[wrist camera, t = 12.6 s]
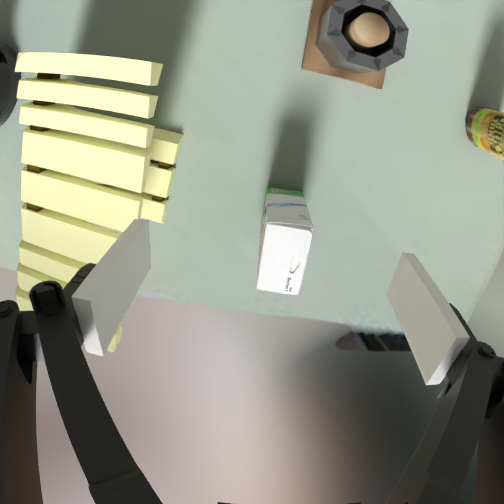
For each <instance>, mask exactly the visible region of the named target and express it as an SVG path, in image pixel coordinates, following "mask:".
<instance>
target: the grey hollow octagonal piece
mask: <svg viewBox="0 0 504 504" xmlns="http://www.w3.org/2000/svg"><path fill="white" fill-rule="evenodd" d="M364 13H375V14H377V15H379V16H381V17H382V18H383V19H384V20H385V21H386V22H387V24H388V26H389V37H388V39H387V40H386V41H385V42H384V43H382V44H379V45H377V46H374V47H371V51H370V55H366V54H362V53H359V52H355V51H354V50H353V49H352V47H351V46H350V44H349V43H348V42H347V40H346V39H345V37H344V36H343V35H342V33H341V29H342V23H343V20H344V19H346V20H349V21H353V20H355V19H356V18H357V17H359V16H360V15H362V14H364ZM408 30H409V29H408V28H407V26H406V25H405V23H404V22H403V20H402V19H401V17H400V16H399V14H398V13H397V11H396V10H395V8H394V7H393V6H392V4H391V3H390V2H388V1H385V0H340V1H338V2H336V3H334V4H332V5H331V6H330V8H329V9H328V10H327V11H326V13H325V14H324V15H323V17H322V18H321V19H320V21H319V26H318V32H317V37H316V43H315V45H316V47H317V48H318V49H319V51H320V52H321V53H322V55H323V56H324V57H325V59H326V60H327V62H328V63H329V64H330V66H331V67H333V68H337V69H341V70H345V71H349V72H353V73H356V74H361V73H369V72H377V71H380V70H382V69H384V68H386V67H388V66H389V65H391V64H393V63H395V62H397V61H399V60H400V59H402V58H404V55H405V49H406V43H407V36H408Z"/></svg>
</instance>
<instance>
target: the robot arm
mask: <svg viewBox="0 0 504 504" xmlns="http://www.w3.org/2000/svg"><path fill="white" fill-rule="evenodd" d="M16 62H17V57H16V55H15V53H14V52H13V50H12V49H11V48H9V47H8V46H6V45H2V44H0V126H1V125H2V124H3V123H4V122H5V121H6V120H7V119H8V118H9V116H10V114H11V113H12V111H13V109H14V106H15V104H16V101H17V90H18V84H19V80H20V72H15V67H16ZM150 268H151V266H150V243H149V220H141V219H134V220H133V222H132V223H131V224H130V225H129V226H128V227H127V228H126V230H125V231H124V232H123V233H122V234H121V235H120V237H119V238H118V239H117V240H116V241H115V243H114V244H113V245H112V246H111V247H110V249H109V250H108V251H107V252H106V253H105V255H104V256H103V257H102V258H101V260H100V261H99V262H98V263H97V264H94V263H88V264H86V265H85V266H83V267H81V268H80V269H79V270H78V271H77V273H76V274H75V276H73V278H72V279H71V280H70V282H68V284H67V285H66V286H65V287H64V289H63V290H62V286H61V285H60V283H58V282H56V281H51V280H48V281H43V282H40V283H38V284H36V285H35V286H33V287H32V289H31V290H30V292H29V297H30V301H31V304H32V307H33V310H34V311H20V309H19V306H18V304H17V303H16V302H14V301H12V300H6V301H2V302H0V504H43V499H42V492H41V485H40V476H39V466H38V454H37V438H36V378H37V362H45V363H46V367H47V371H48V375H49V378H50V381H51V385H52V388H53V392H54V395H55V398H56V401H57V405H58V408H59V411H60V414H61V417H62V419H63V422H64V425H65V428H66V430H67V433H68V436H69V438H70V441H71V444H72V446H73V448H74V451H75V453H76V455H77V458H78V460H79V463H80V465H81V467H82V469H83V472H84V474H85V476H86V478H87V480H88V483H89V490H90V493H91V495H92V497H93V500H94V502H95V503H96V504H162V502H161V501H160V499H159V498H158V496H157V495H156V493H155V492H154V490H153V489H152V487H151V485H150V484H149V482H148V481H147V479H146V477H145V476H144V474H143V473H142V471H141V470H140V468H139V467H138V466H137V464H136V463H135V461H134V459H133V457H132V456H131V454H130V452H129V450H128V449H127V447H126V445H125V443H124V441H123V439H122V437H121V436H120V434H119V432H118V430H117V428H116V426H115V424H114V422H113V420H112V418H111V416H110V414H109V412H108V410H107V408H106V406H105V403H104V401H103V399H102V397H101V395H100V393H99V390H98V388H97V386H96V383H95V381H94V379H93V376H92V374H91V372H90V369H89V367H88V365H87V362H86V359H85V357H84V355H83V352H82V349H81V346H82V344H83V342H84V345H85V348H86V351H87V352H88V353H93V354H96V355H101V356H104V354H105V352H106V350H107V348H108V346H109V344H110V342H111V340H112V338H113V337H114V335H115V333H116V331H117V329H118V327H119V325H120V323H121V321H122V319H123V317H124V315H125V313H126V311H127V310H128V308H129V306H130V304H131V302H132V300H133V298H134V296H135V295H136V293H137V291H138V289H139V287H140V285H141V284H142V282H143V280H144V278H145V276H146V275H147V273H148V271H149V269H150ZM387 297H388V299H389V301H390V303H391V305H392V307H393V310H394V312H395V314H396V316H397V318H398V320H399V323H400V325H401V327H402V329H403V331H404V334H405V336H406V338H407V341H408V343H409V345H410V347H411V350H412V352H413V355H414V357H415V359H416V362H417V364H418V367H419V369H420V371H421V374H422V376H423V379H424V381H425V384H426V385H432V384H440V382H441V381H442V380H443V378H444V377H445V375H447V377H448V379H449V382H448V383H447V385H446V386H445V387H444V389H443V390H442V391H441V393H440V394H439V395H438V397H437V398H439V397H440V396H441V398H440V400H439V402H438V405H437V407H436V410H435V412H434V414H433V416H432V418H431V420H430V423H429V425H428V427H427V429H426V431H425V433H424V435H423V437H422V439H421V441H420V443H419V445H418V447H417V449H416V451H415V453H414V455H413V456H412V458H411V460H410V462H409V464H408V466H407V467H406V469H405V471H404V473H403V474H402V476H401V478H400V479H399V481H398V483H397V484H396V486H395V488H394V490H393V491H392V493H391V494H390V496H389V497H388V499H387V500H386V502H385V503H384V504H464V501H465V498H466V492H465V491H463V490H462V489H461V488H462V485H463V482H464V480H465V477H466V474H467V472H468V469H469V466H470V463H471V460H472V457H473V454H474V451H475V448H476V445H477V442H478V453H477V466H476V475H475V484H474V491H473V498H472V504H504V358H501V357H498V356H496V353H495V351H494V350H493V349H492V348H491V347H490V346H489V345H487V344H486V343H483V342H478V341H477V340H476V338H475V336H474V335H473V333H472V332H471V330H470V328H469V327H468V325H467V324H466V322H465V320H464V319H462V316H461V314H460V313H459V311H458V310H457V309H456V308H455V307H454V306H453V305H452V304H451V303H448V302H447V300H446V299H445V297H444V296H443V294H442V293H441V291H440V290H439V288H438V287H437V285H436V284H435V282H434V281H433V280H432V278H431V277H430V275H429V274H428V272H427V271H426V270H425V268H424V267H423V265H422V264H421V263H420V261H419V260H418V259H417V257H416V256H415V255H414V254H411V253H404V252H402V254H401V257H400V260H399V263H398V266H397V268H396V271H395V274H394V276H393V279H392V282H391V284H390V287H389V290H388V292H387ZM218 504H229V503H220V502H218ZM349 504H361V503H349Z"/></svg>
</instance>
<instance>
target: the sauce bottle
mask: <svg viewBox="0 0 504 504" xmlns="http://www.w3.org/2000/svg"><path fill="white" fill-rule="evenodd" d="M466 129H467V135H468V138H469V139H470V141H471V142H472V143H473V144H474V145H475V146H477V147H479V148H480V149H482V150H484V151H486V152H488V153H490V154H492V155H494V156H496V157H498V158H500V159H502V160H504V113H502V112H499V111H495V110H492V109H487V108H476V109H475V110H473V111H472V112H471V113H470V115H469V117H468V119H467V122H466Z"/></svg>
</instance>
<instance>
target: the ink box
mask: <svg viewBox="0 0 504 504" xmlns="http://www.w3.org/2000/svg"><path fill="white" fill-rule="evenodd" d="M312 232H313V225H312V222H311V218H310V215H309V212H308V209H307V205H306V202H305V199H304V195H303V193H302V192H301V191H296V190H289V189H281V188H271V187H268V188H267V193H266V200H265V208H264V215H263V222H262V229H261V236H260V246H259V259H258V275H257V290H261V291H268V292H275V293H283V294H291V295H298V293H299V290H300V285H301V282H302V278H303V273H304V269H305V266H306V262H307V256H308V253H309V249H310V244H311V239H312Z"/></svg>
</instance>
